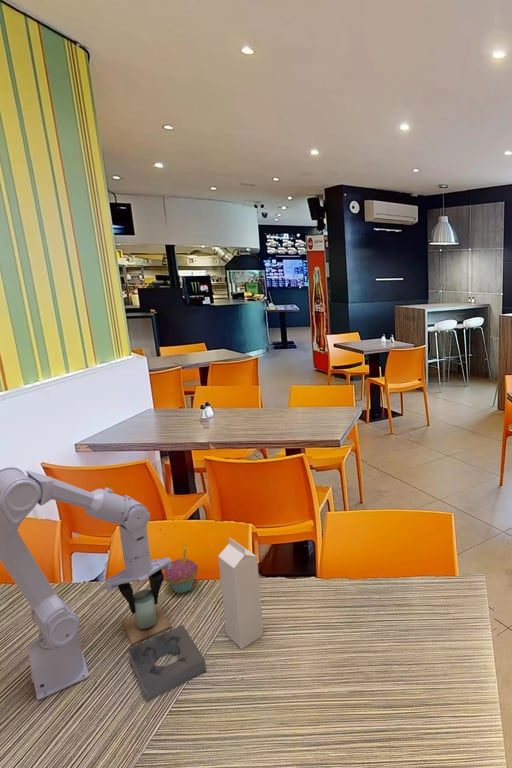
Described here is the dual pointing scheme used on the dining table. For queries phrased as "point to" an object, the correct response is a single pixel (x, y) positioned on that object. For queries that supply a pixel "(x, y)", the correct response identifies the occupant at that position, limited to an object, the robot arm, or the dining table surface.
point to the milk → (240, 594)
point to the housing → (172, 675)
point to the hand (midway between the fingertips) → (143, 606)
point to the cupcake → (181, 574)
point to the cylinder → (144, 609)
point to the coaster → (140, 634)
